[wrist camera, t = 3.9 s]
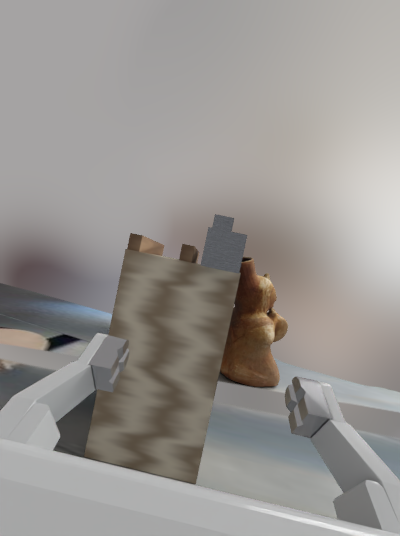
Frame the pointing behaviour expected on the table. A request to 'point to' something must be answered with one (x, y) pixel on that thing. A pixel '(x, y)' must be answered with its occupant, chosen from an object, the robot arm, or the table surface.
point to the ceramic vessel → (253, 331)
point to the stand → (163, 361)
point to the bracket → (223, 246)
